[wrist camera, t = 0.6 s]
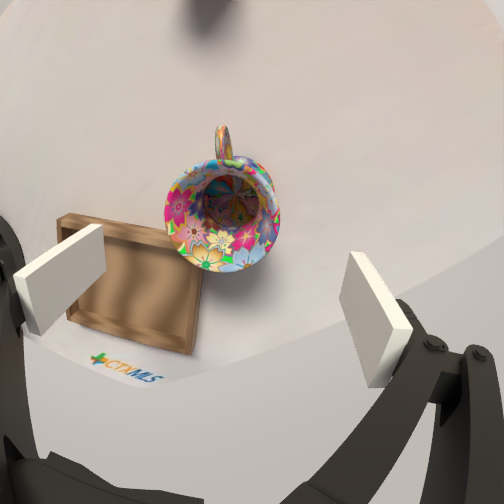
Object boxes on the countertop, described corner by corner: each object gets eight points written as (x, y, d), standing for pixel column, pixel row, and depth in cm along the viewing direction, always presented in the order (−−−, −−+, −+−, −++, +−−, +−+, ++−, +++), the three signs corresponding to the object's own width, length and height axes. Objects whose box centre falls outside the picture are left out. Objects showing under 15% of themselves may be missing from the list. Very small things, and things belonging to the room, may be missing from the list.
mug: (278, 232, 35) (279, 273, 25) (198, 233, 36) (170, 272, 26) (277, 126, 31) (279, 122, 21) (191, 129, 31) (156, 129, 22)
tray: (77, 309, 42) (67, 319, 39) (69, 212, 36) (56, 219, 33) (195, 341, 42) (190, 355, 39) (207, 238, 36) (201, 247, 33)
